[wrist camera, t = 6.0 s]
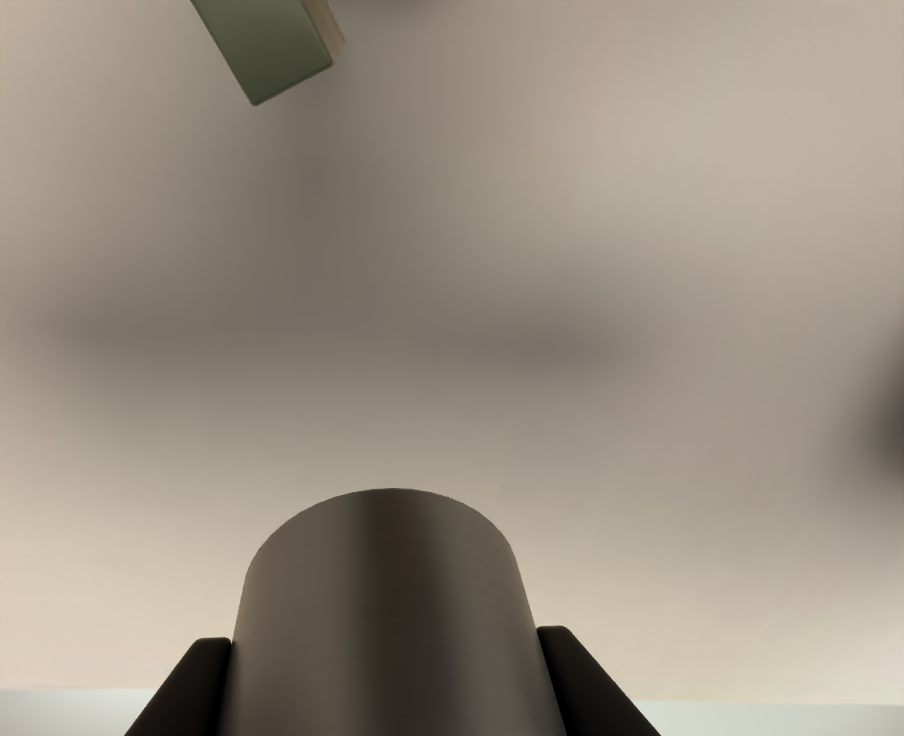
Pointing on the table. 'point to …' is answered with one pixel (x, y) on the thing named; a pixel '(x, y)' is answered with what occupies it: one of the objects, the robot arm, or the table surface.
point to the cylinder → (386, 627)
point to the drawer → (272, 41)
